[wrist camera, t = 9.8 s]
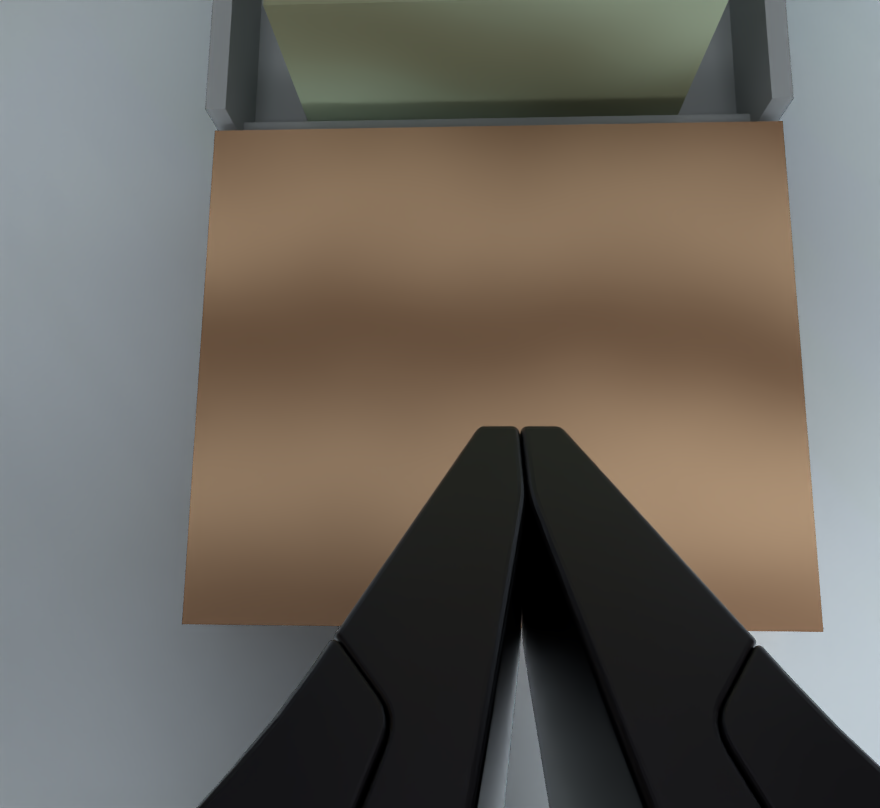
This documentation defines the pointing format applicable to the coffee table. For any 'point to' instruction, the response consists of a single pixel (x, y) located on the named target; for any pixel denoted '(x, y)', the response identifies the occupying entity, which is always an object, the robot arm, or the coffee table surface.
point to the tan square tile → (496, 349)
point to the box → (708, 100)
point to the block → (491, 56)
